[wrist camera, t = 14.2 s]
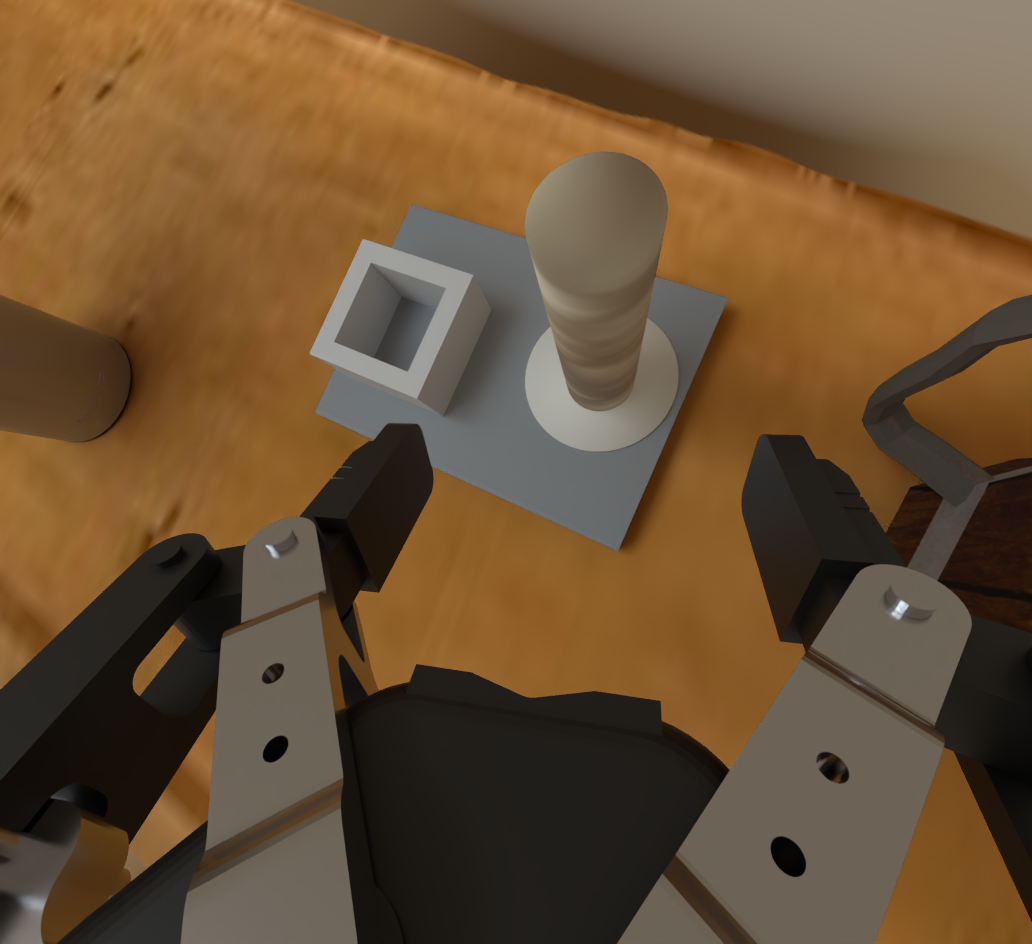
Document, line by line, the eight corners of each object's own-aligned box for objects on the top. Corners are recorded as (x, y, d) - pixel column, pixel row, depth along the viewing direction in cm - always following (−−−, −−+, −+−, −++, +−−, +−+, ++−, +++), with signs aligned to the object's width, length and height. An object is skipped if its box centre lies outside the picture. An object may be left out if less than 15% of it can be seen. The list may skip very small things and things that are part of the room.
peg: (555, 397, 26) (503, 259, 13) (582, 337, 27) (558, 138, 13) (618, 421, 26) (633, 300, 12) (645, 359, 26) (690, 169, 12)
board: (328, 418, 31) (271, 395, 26) (420, 218, 32) (382, 156, 27) (617, 550, 26) (620, 556, 21) (721, 310, 27) (750, 256, 21)
